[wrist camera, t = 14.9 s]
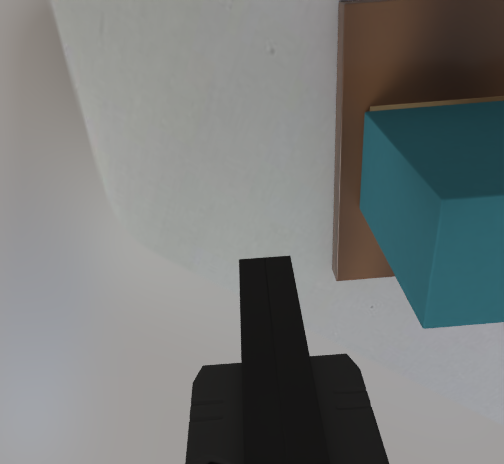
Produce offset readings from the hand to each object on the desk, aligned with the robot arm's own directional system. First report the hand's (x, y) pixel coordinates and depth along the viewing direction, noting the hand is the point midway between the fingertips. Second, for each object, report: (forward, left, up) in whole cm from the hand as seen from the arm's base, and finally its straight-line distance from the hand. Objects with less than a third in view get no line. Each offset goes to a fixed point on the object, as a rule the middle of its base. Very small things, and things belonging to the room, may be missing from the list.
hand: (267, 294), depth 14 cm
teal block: (+9, 0, -10) cm, 13 cm away
